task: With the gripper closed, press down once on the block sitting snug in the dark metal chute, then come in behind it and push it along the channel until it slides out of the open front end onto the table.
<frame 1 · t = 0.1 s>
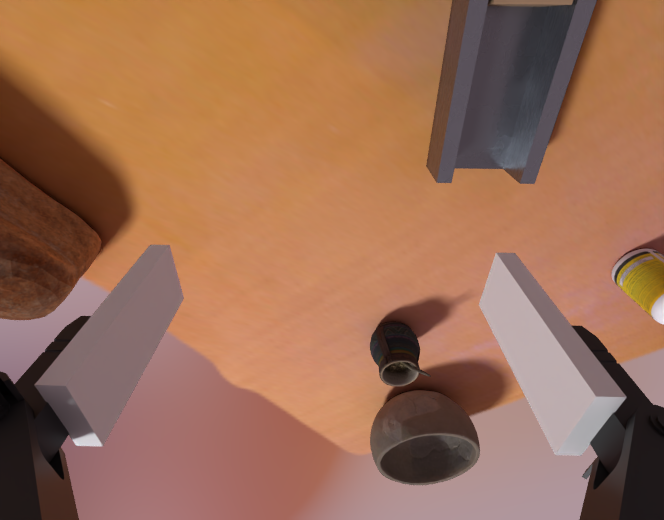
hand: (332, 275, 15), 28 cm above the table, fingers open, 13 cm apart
pill bottle: (633, 265, 48), on the table
bowl: (415, 406, 66), on the table
mate gourd: (392, 330, 56), on the table
chute: (498, 43, 34), on the table
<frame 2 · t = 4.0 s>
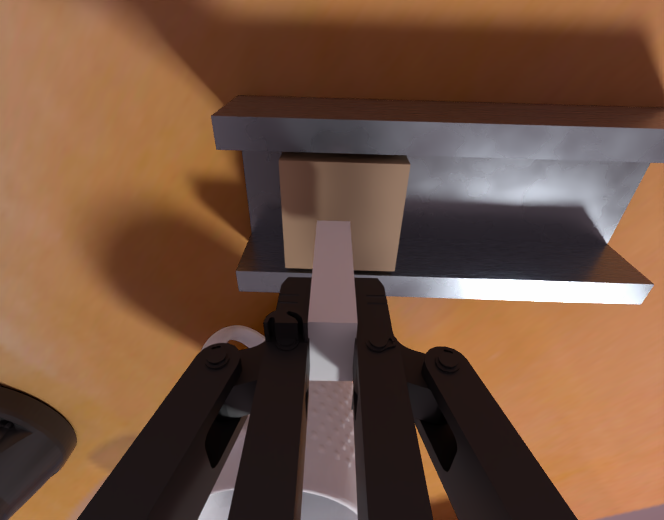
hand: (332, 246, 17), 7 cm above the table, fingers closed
block: (342, 187, 22), point 1 cm above the table, touching chute
mug: (292, 348, 32), on the table
chute: (436, 186, 23), on the table
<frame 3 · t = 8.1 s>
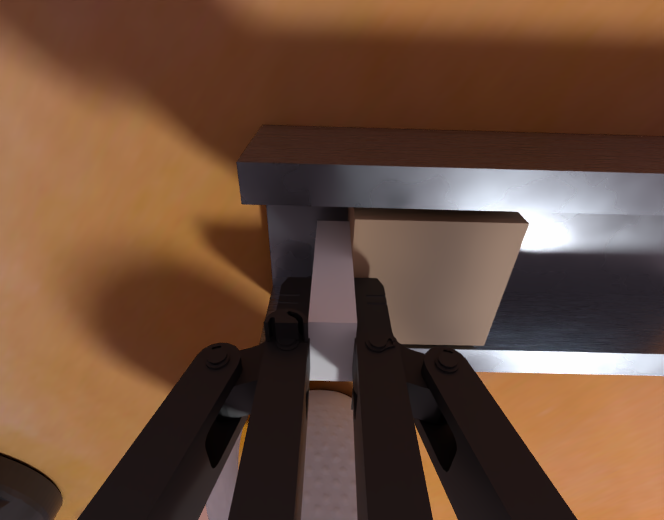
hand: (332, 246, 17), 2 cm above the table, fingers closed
block: (407, 234, 18), point 1 cm above the table, touching gripper
mug: (314, 405, 27), on the table
chute: (500, 231, 19), on the table
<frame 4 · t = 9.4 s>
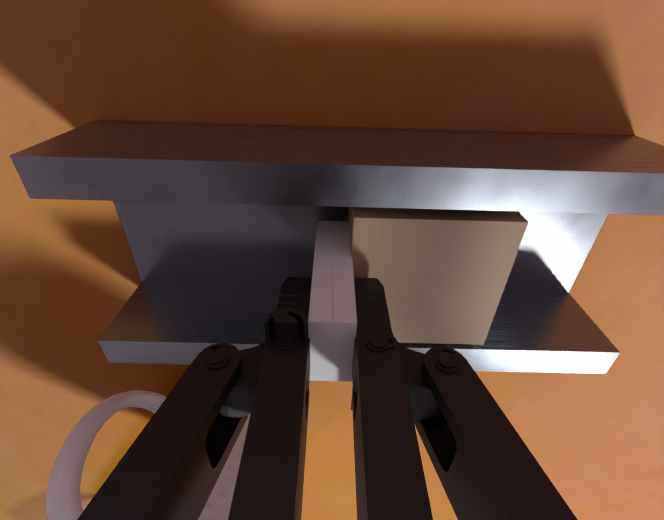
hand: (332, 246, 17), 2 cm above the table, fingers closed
block: (407, 233, 18), point 1 cm above the table, touching gripper
mug: (218, 402, 27), on the table
chute: (359, 227, 19), on the table
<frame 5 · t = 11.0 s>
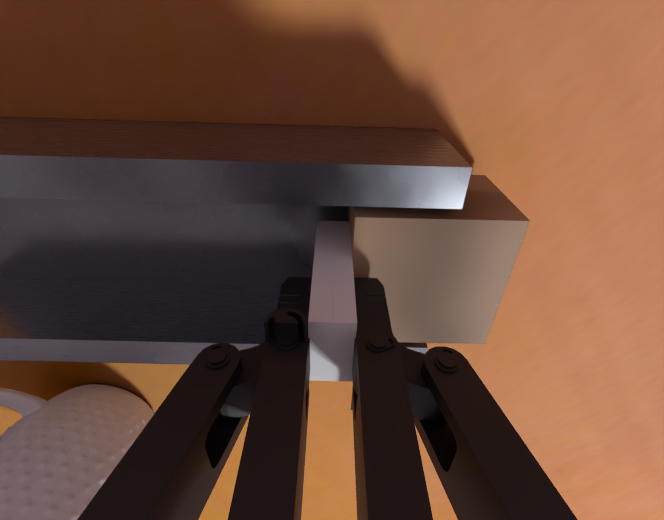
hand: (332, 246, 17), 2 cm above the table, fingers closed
block: (408, 233, 18), point 1 cm above the table, touching gripper
mug: (101, 400, 27), on the table
chute: (187, 222, 19), on the table
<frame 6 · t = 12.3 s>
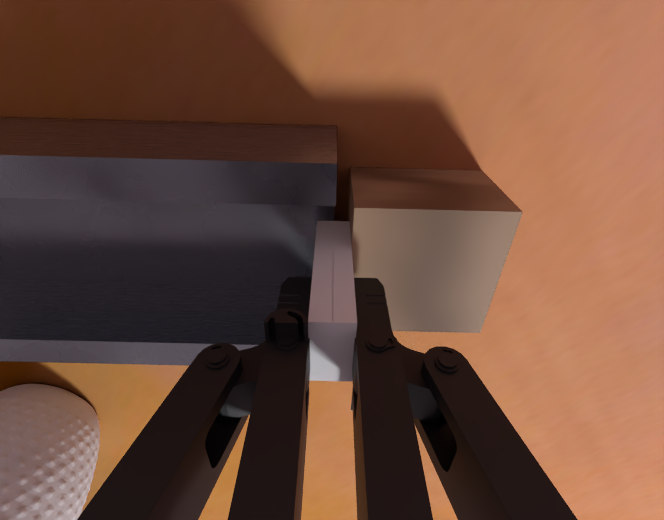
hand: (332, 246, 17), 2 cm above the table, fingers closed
block: (406, 226, 19), on the table
mug: (43, 399, 27), on the table
chute: (101, 220, 18), on the table
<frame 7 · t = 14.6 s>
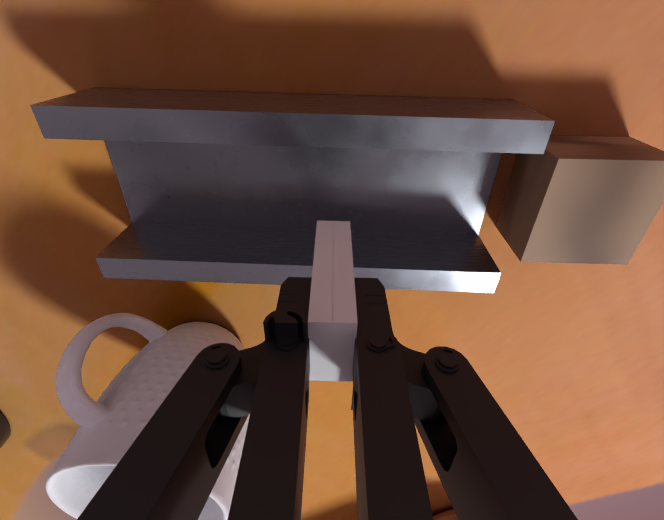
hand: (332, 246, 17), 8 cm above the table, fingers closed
block: (555, 184, 23), on the table
mug: (200, 337, 32), on the table
chute: (303, 177, 23), on the table
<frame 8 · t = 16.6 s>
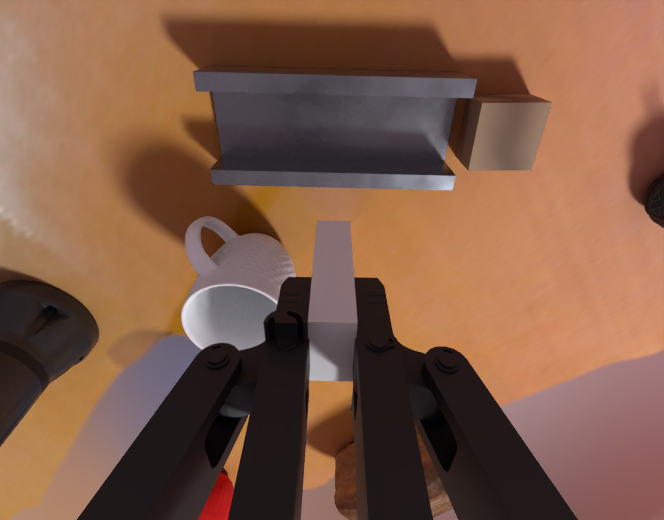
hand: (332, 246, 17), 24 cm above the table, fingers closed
block: (490, 126, 37), on the table
mug: (254, 248, 46), on the table
bread: (404, 433, 69), on the table
tomato: (209, 473, 78), on the table
chute: (334, 123, 37), on the table
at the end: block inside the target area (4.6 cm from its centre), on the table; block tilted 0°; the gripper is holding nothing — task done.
